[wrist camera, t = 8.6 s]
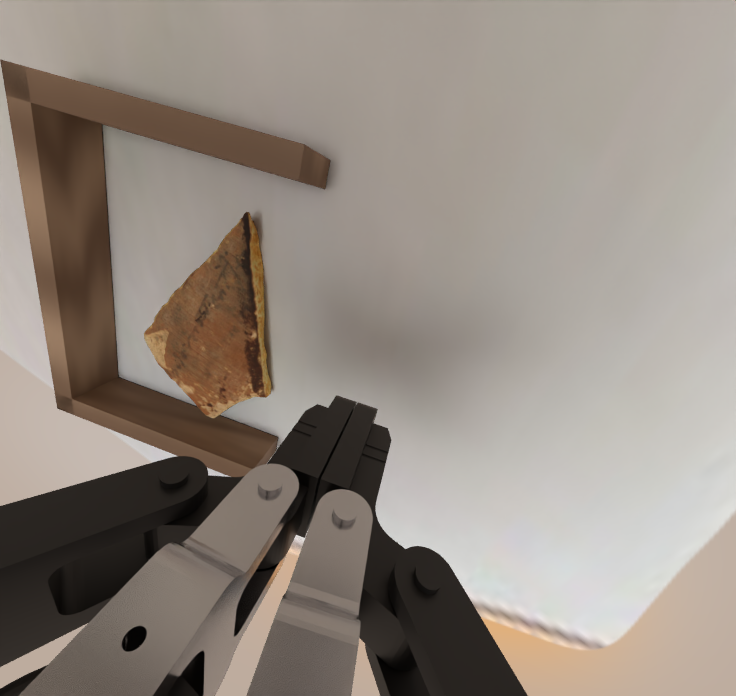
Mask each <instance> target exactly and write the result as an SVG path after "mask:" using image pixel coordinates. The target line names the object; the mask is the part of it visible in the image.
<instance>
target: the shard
mask: <svg viewBox="0 0 736 696" xmlns="http://www.w3.org/2000/svg"><path fill="white" fill-rule="evenodd" d="M263 270H264V269H263V263H262V255H261V252H260V248H259V237H258V234H257V230H256V227H255V225H254V222H253V221H252V220H251V216H250V213H249V212H246V213H245V214H244V216H243V218H241V219H240V221H239V222H238V224H237V225H236V226H235V227H234V228H233V229H232V230H231V231H230V232H229V233H228V234H227V235H226V236H225V238H224V239H223V241H222V242H221V244H220V245H219V247H218V249H217V250H216V251H214V252H213V254H212V255H211V256H210V257H209V258H208V259H207V260H206V262H204V263H203V264H202V265H201V266H200V268H198V269H196V270H195V271H194V272H193V273H192V274H191V275H190V276H189V277H188V278H187V280H186V281H185V282H184V283H183V285H182V286H181V287H180V288H178V289H177V290H176V291H175V292H174V293H173V294H172V296H171V297H170V299H169V301H168V302H167V303H166V304H165V305H163V306H162V308H161V310H160V311H159V312H158V314H157V315H156V316H155V319H154V323H153V324H152V325H151V326H150V327H149V328H148V329H147V330H146V331H145V333H144V339H145V341H146V343H147V345H148V347H149V348H150V350H151V352H152V354H153V355H154V357H155V359H156V361H157V362H158V364H159V365H160V366H161V367H162V368H163V369H164V370H165V372H166V373H167V374H168V375H169V377H170V378H171V379H172V380H174V381H175V382H176V383H177V384H178V386H179V387H180V388H181V389H182V390H183V391H184V392H185V393H186V394H187V395H188V396H189V397H190V398H191V399H192V400H193V401H194V403H195V404H196V405H197V407H198V408H199V409H200V410H201V411H202V412H203V413H204V414H205V415H206V416H209V417H211V418H215V417H217V416H218V415H220V414H221V413H222V412H223V411H225V410H227V409H228V408H230V407H232V406H233V405H235V404H236V403H238V402H241V401H244V400H247V399H250V398H252V397H267V396H269V394H270V393H271V381H270V378H269V375H268V369H267V364H266V358H267V352H266V350H265V346H264V320H265V313H264V284H263V278H264V276H263Z"/></svg>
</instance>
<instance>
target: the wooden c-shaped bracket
mask: <svg viewBox="0 0 736 696" xmlns="http://www.w3.org/2000/svg"><path fill="white" fill-rule="evenodd" d="M0 61H1V67H2V73H3V79H4V85H5V91H6V97H7V103H8V110H9V116H10V122H11V128H12V134H13V140H14V146H15V152H16V158H17V164H18V171H19V177H20V183H21V189H22V195H23V201H24V207H25V213H26V219H27V226H28V232H29V238H30V244H31V250H32V256H33V262H34V268H35V274H36V281H37V287H38V293H39V299H40V305H41V311H42V317H43V323H44V329H45V336H46V342H47V348H48V354H49V360H50V366H51V372H52V378H53V384H54V390H55V396H56V403H57V408H58V409H60V410H63V411H66V412H68V413H71V414H73V415H75V416H78V417H81V418H83V419H86V420H89V421H91V422H93V423H96V424H98V425H101V426H103V427H106V428H108V429H111V430H114V431H116V432H119V433H121V434H124V435H126V436H129V437H131V438H134V439H136V440H139V441H141V442H144V443H147V444H149V445H152V446H154V447H157V448H159V449H162V450H164V451H167V452H169V453H172V454H175V455H177V456H188V457H193V458H196V459H199V460H200V461H202V462H203V463H204V464H205V465H206V467H208V468H210V469H213V470H215V471H218V472H220V473H223V474H225V475H228V476H230V477H242V476H245V475H246V474H247V473H248V472H249V471H251V470H252V469H254V468H256V467H258V466H260V465H264V464H266V463H267V462H268V461H269V459H270V458H271V457H272V455H273V454H274V453H275V451H276V446H277V441H278V437H276V436H273V435H271V434H268V433H265V432H263V431H260V430H257V429H255V428H252V427H249V426H247V425H244V424H241V423H239V422H236V421H233V420H231V419H228V418H225V417H223V416H220V415H218V416H217V417H215V418H211V417H209V416H206V415H205V414H204V413H203V412H202V411H201V410H200V409H199V408H198V407H196V406H193V405H191V404H188V403H185V402H183V401H180V400H177V399H175V398H172V397H169V396H167V395H164V394H161V393H159V392H156V391H153V390H151V389H148V388H145V387H143V386H140V385H137V384H135V383H132V382H129V381H127V380H124V379H121V378H119V377H118V367H117V352H116V336H115V321H114V306H113V291H112V276H111V260H110V245H109V230H108V215H107V200H106V184H105V169H104V154H103V139H102V124H103V125H107V126H110V127H113V128H117V129H120V130H124V131H127V132H131V133H134V134H137V135H141V136H144V137H148V138H151V139H155V140H158V141H161V142H165V143H168V144H172V145H175V146H179V147H182V148H186V149H189V150H192V151H196V152H199V153H203V154H206V155H210V156H213V157H216V158H220V159H223V160H227V161H230V162H234V163H237V164H240V165H244V166H247V167H251V168H254V169H258V170H261V171H264V172H268V173H271V174H275V175H278V176H282V177H285V178H288V179H292V180H295V181H299V182H302V183H306V184H309V185H312V186H316V187H319V188H323V189H325V187H326V181H327V176H328V171H329V165H330V160H329V159H327V158H326V157H324V156H323V155H321V154H319V153H318V152H316V151H314V150H313V149H311V148H309V147H308V146H306V145H304V144H301V143H297V142H294V141H290V140H287V139H283V138H279V137H276V136H272V135H269V134H265V133H262V132H258V131H254V130H251V129H247V128H244V127H240V126H237V125H233V124H229V123H226V122H222V121H219V120H215V119H211V118H208V117H204V116H201V115H197V114H194V113H190V112H186V111H183V110H179V109H176V108H172V107H168V106H165V105H161V104H158V103H154V102H151V101H147V100H143V99H140V98H136V97H133V96H129V95H125V94H122V93H118V92H115V91H111V90H108V89H104V88H100V87H97V86H93V85H90V84H86V83H83V82H79V81H75V80H72V79H68V78H65V77H61V76H57V75H54V74H50V73H47V72H43V71H40V70H36V69H32V68H29V67H25V66H22V65H18V64H14V63H11V62H7V61H4V60H0Z"/></svg>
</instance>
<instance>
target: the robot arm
mask: <svg viewBox="0 0 736 696" xmlns="http://www.w3.org/2000/svg"><path fill="white" fill-rule="evenodd" d="M377 410H378V409H376V408H373V407H370V406H367V405H364V404H361V403H357V405H356V402H355V401H352V400H349V399H346V398H343V397H340V396H336V397H335V398H334V400H333V402H332V403H331V405H330V406H329V408H327V407H324V406H321V405H318V404H317V405H315V406H313V407H312V408H310V409H308V410H306V411H305V412H304V414H303V415H302V417H301V418H300V419H299V421H298V423H296V425H295V426H294V427H293V429H292V431H291V432H290V433H289V434H288V436H287V437H286V438H285V440H284V441H283V443H282V444H281V445H280V447H279V448H278V449H277V451H276V452H275V454H274V455H273V456H272V458H271V459H270V460H269V462H268V463H267V464H264V465H260V466H258V467H256V468H254V469H252V470H251V471H249V472H248V473H247V474H246V475H245V476H242V477H222V476H208V470H207V467H206V465H205V464H204V463H203V462H202V461H200V460H199V459H196V458H193V457H188V456H177V457H172V458H167V459H164V460H160V461H157V462H153V463H150V464H146V465H143V466H140V467H136V468H133V469H129V470H125V471H122V472H119V473H115V474H111V475H108V476H104V477H101V478H97V479H94V480H91V481H87V482H84V483H80V484H77V485H73V486H69V487H66V488H62V489H59V490H56V491H52V492H48V493H45V494H41V495H38V496H34V497H31V498H27V499H24V500H21V501H17V502H13V503H10V504H6V505H3V506H0V667H1V666H3V665H5V664H7V663H9V662H11V661H13V660H15V659H17V658H19V657H21V656H23V655H25V654H27V653H29V652H31V651H33V650H35V649H37V648H39V647H41V646H43V645H45V644H47V643H49V642H51V641H53V640H55V639H57V638H59V637H61V636H63V635H65V634H67V633H69V632H71V631H72V630H75V629H77V628H79V627H81V626H82V625H85V624H87V623H88V624H87V625H86V626H85V627H84V628H83V629H82V630H81V631H80V632H79V633H78V634H77V635H76V637H75V638H74V639H73V640H72V641H71V642H70V643H69V644H68V645H67V646H66V647H65V648H64V649H63V650H62V651H61V652H60V653H59V654H58V655H57V656H56V657H55V659H53V660H52V661H51V663H50V664H49V665H47V666H44V667H42V668H40V669H38V670H36V671H33V672H31V673H29V674H27V675H25V676H23V677H21V678H19V679H17V680H15V681H13V682H11V683H10V684H8V685H6V686H4V687H3V688H1V689H0V696H215V694H216V692H217V690H218V689H219V687H220V685H221V683H222V681H223V679H224V677H225V674H226V672H227V670H228V668H229V665H230V663H231V660H232V657H233V655H234V652H235V650H236V648H237V645H238V644H239V642H240V640H241V638H242V636H243V634H244V632H245V631H246V629H247V627H248V625H249V623H250V621H251V620H252V618H253V616H254V615H255V613H256V611H257V609H258V607H259V605H260V604H261V602H262V600H263V598H264V597H265V595H266V593H267V591H268V589H269V588H270V586H271V584H272V582H273V580H274V579H275V577H276V575H277V573H278V572H279V570H280V568H281V566H282V564H283V562H284V559H285V556H286V554H287V552H288V550H289V548H290V546H291V544H292V542H293V540H294V538H295V536H296V535H299V536H301V537H304V538H305V536H306V538H305V541H304V544H303V546H302V549H301V552H300V555H299V558H298V561H297V563H296V566H295V569H294V572H293V575H292V578H291V580H290V583H289V586H288V589H287V591H286V593H285V594H284V596H283V598H282V600H281V602H280V605H279V608H278V610H277V613H276V615H275V618H274V621H273V624H272V626H271V629H270V632H269V635H268V637H267V640H266V643H265V646H264V648H263V651H262V654H261V657H260V660H259V663H258V665H257V668H256V671H255V674H254V676H253V679H252V682H251V685H250V687H249V690H248V693H247V696H351V692H352V685H353V678H354V671H355V664H356V657H357V651H358V644H359V638H360V639H361V640H362V641H363V642H364V643H365V646H366V652H367V656H368V659H369V662H370V665H371V668H372V671H373V674H374V677H375V681H376V684H377V687H378V690H379V693H380V696H527V694H526V692H525V691H524V689H523V687H522V686H521V684H520V682H519V681H518V679H517V677H516V676H515V674H514V672H513V671H512V669H511V667H510V665H509V664H508V662H507V661H506V659H505V657H504V655H503V654H502V652H501V650H500V649H499V647H498V645H497V644H496V642H495V640H494V639H493V637H492V636H491V634H490V632H489V631H488V629H487V627H486V625H485V624H484V622H483V621H482V619H481V617H480V615H479V614H478V612H477V610H476V609H475V607H474V605H473V604H472V602H471V600H470V599H469V597H468V595H467V594H466V592H465V590H464V589H463V587H462V585H461V584H460V582H459V580H458V579H457V577H456V575H455V574H454V572H453V570H452V569H451V567H450V566H449V564H448V563H447V562H446V561H445V560H444V559H443V558H442V557H441V556H440V555H439V554H438V553H436V552H435V551H433V550H431V549H429V548H426V547H421V546H414V547H410V548H408V549H404V548H403V547H402V546H401V545H399V544H398V543H397V542H395V541H394V540H393V539H392V538H391V537H389V536H388V535H387V534H386V533H385V531H384V530H383V529H382V527H381V526H380V524H379V522H378V519H377V517H376V512H375V505H376V500H377V496H378V492H379V488H380V484H381V480H382V476H383V472H384V468H385V463H386V460H387V455H388V451H389V447H390V443H391V438H390V434H389V431H388V428H385V427H382V426H379V425H376V424H374V420H375V417H376V413H377ZM307 531H308V532H307ZM306 533H307V535H306Z"/></svg>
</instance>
